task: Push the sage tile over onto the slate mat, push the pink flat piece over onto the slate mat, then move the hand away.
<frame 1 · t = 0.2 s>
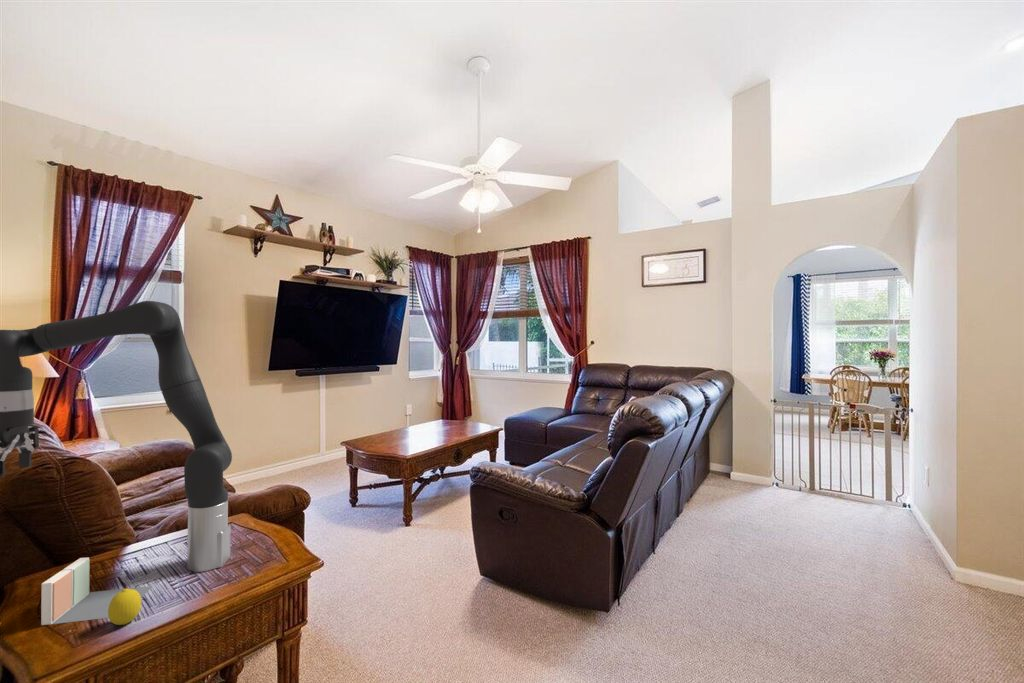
hand: (12, 471, 113), 29 cm above the table, fingers open, 8 cm apart
slate mat: (101, 606, 104), on the table
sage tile: (75, 601, 105), point 1 cm above the table, touching slate mat
lemon: (124, 626, 97), on the table
pink flat piece: (56, 616, 99), point 1 cm above the table, touching slate mat
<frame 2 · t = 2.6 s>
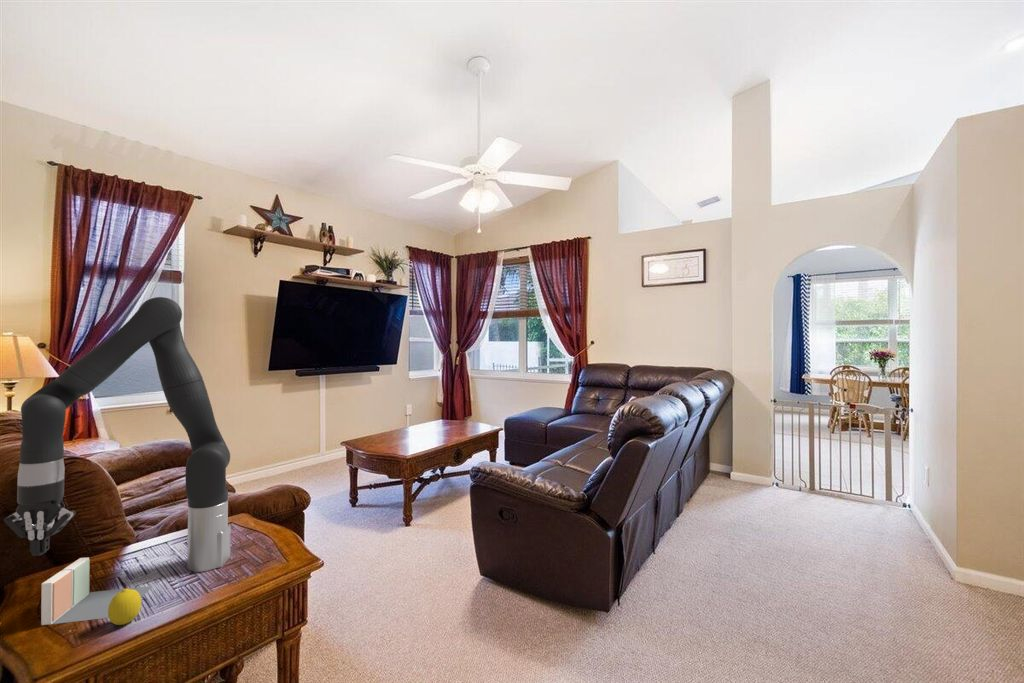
hand: (39, 553, 103), 12 cm above the table, fingers closed
nothing on the table moved.
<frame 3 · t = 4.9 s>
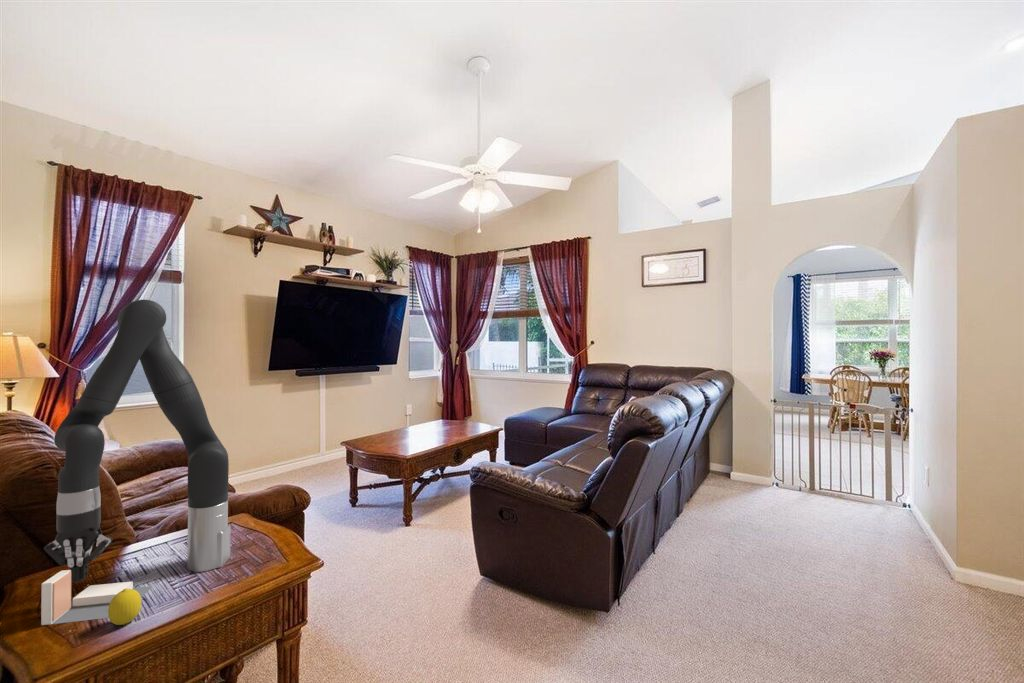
hand: (78, 580, 105), 5 cm above the table, fingers closed
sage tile: (81, 595, 105), point 2 cm above the table, tilted 90°, touching slate mat
everything else where it was.
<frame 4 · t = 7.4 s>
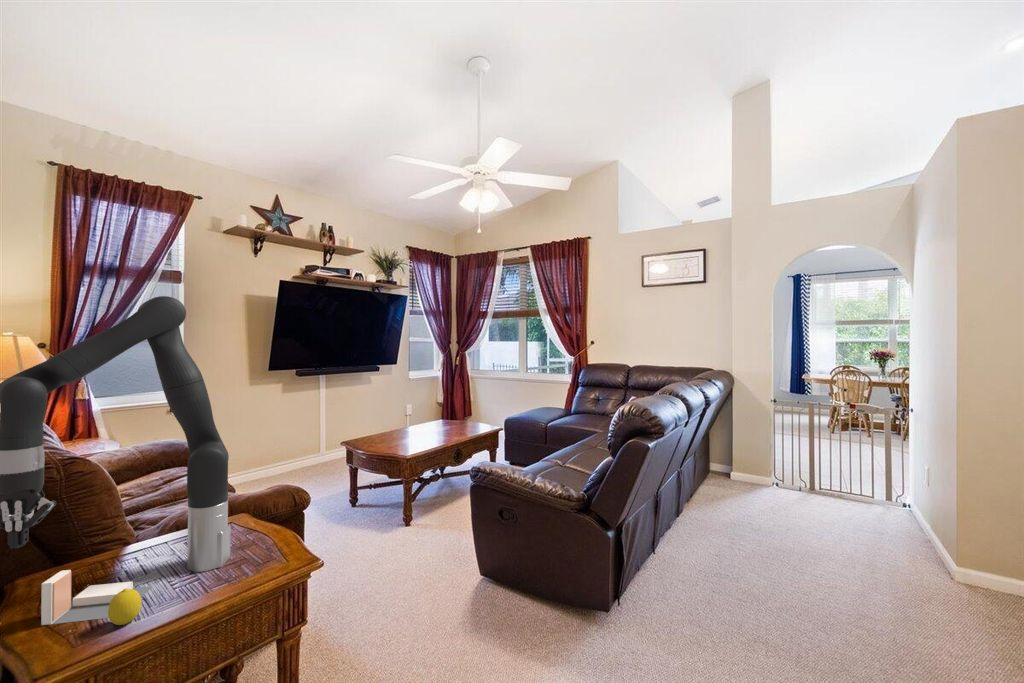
hand: (17, 546, 98), 17 cm above the table, fingers closed
nothing on the table moved.
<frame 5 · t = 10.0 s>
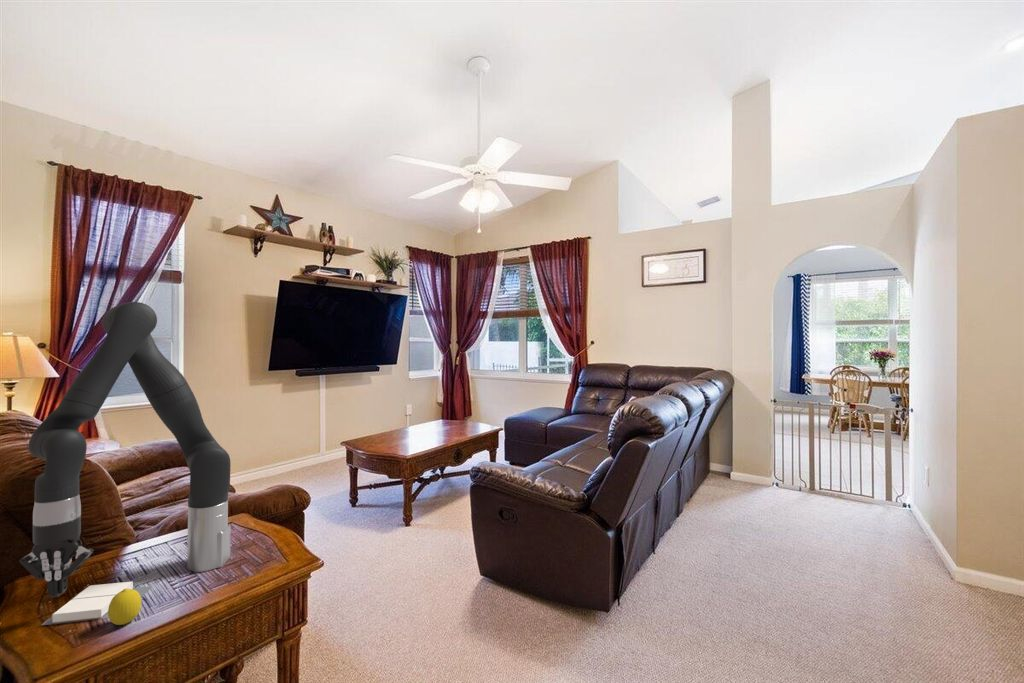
hand: (57, 594, 99), 5 cm above the table, fingers closed
pink flat piece: (62, 610, 99), point 2 cm above the table, tilted 90°, touching slate mat
everything else where it was.
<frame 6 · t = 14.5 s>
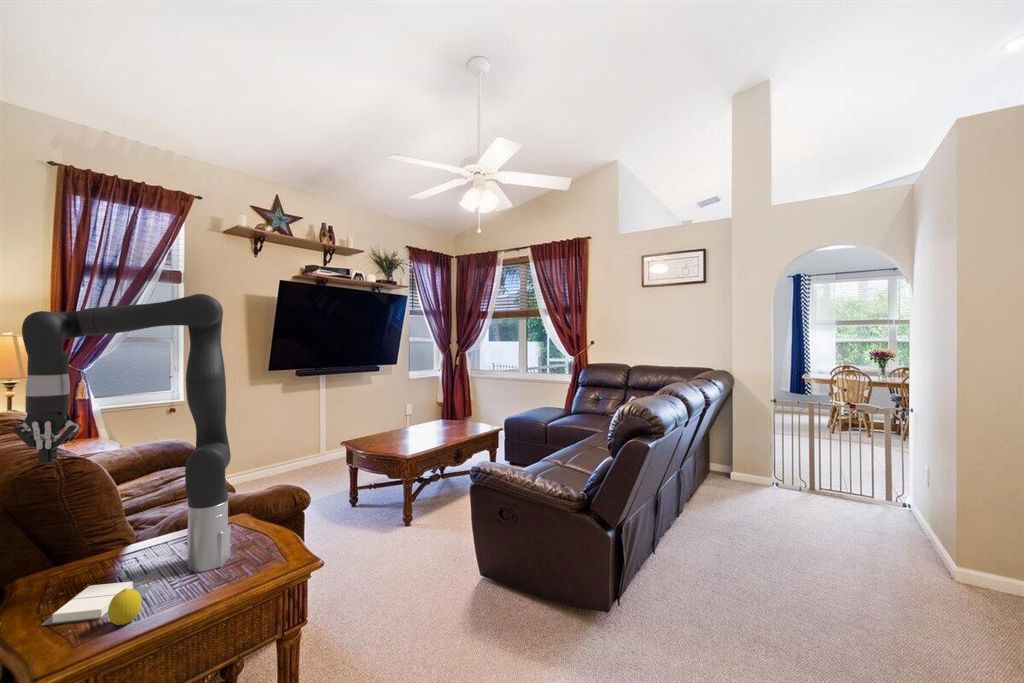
hand: (47, 463, 109), 32 cm above the table, fingers closed
nothing on the table moved.
at the end: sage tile tilted 90°; pink flat piece tilted 90°; pink flat piece inside the target area (4.2 cm from its centre), point 1.8 cm above the table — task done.
